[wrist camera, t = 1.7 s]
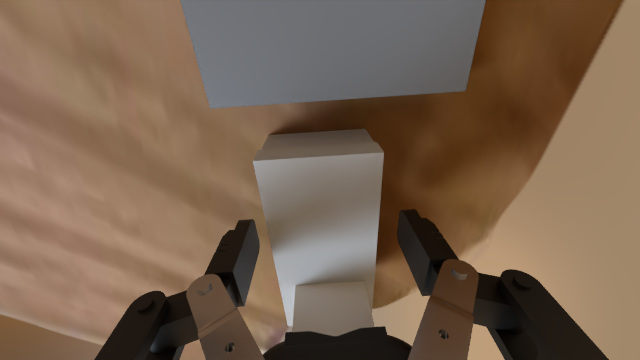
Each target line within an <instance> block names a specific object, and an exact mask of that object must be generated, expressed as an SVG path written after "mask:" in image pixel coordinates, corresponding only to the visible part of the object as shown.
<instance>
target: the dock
mask: <svg viewBox="0 0 640 360" xmlns="http://www.w3.org/2000/svg"><path fill="white" fill-rule="evenodd" d="M180 1H181V4H182V8H183V12H184V15H185V19H186V22H187V26H188V30H189V33H190V37H191V41H192V44H193V48H194V51H195V55H196V59H197V62H198V66H199V70H200V73H201V77H202V80H203V84H204V88H205V91H206V95H207V98H208V102H209V106H210V108H224V107H239V106H254V105H269V104H284V103H299V102H314V101H328V100H343V99H358V98H373V97H388V96H403V95H417V94H432V93H447V92H462V91H466V87H467V82H468V78H469V73H470V69H471V64H472V60H473V55H474V51H475V46H476V42H477V38H478V33H479V29H480V24H481V20H482V15H483V11H484V6H485V2H486V0H180Z"/></svg>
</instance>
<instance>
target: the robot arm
mask: <svg viewBox="0 0 640 360" xmlns="http://www.w3.org/2000/svg"><path fill="white" fill-rule="evenodd" d="M397 237H398V242H399V245H400V247H401V249H402V252H403V254H404V256H405V258H406V261H407V263H408V265H409V267H410V270H411V272H412V274H413V276H414V279H415V281H416V283H417V286H418V288H419V290H420V292H421V295H422V296H430V298H429V300H428V303H427V306H426V309H425V312H424V315H423V317H422V320H421V323H420V326H419V329H418V332H417V334H416V337H415V340H414V343H413V346H410V345H409V344H408V343H406V342H404V341H402V340H400V339H398V338H395V337H393V336H389V335H387V332H386V329H385V327H368V328H359V329H356V330H353V331H350V332H348V333H345V334H342V335H339V336H331V335H326V334H321V333H317V332H312V331H303V332H286V334H285V341H284V342H281V343H279V344H277V345H275V346H273V347H272V348H270V349H269V350H268V351H266V352H265V353H264V354H263V355H262V353H261V351H260V349H259V348H258V346H257V344H256V342H255V340H254V338H253V336H252V334H251V333H250V331H249V329H248V327H247V325H246V323H245V321H244V319H243V318H242V316H241V314H240V312H239V310H238V309H237V308H236V307H241V306H245V302H246V298H247V295H248V291H249V287H250V283H251V280H252V276H253V272H254V269H255V265H256V261H257V257H258V254H259V247H260V245H259V238H258V234H257V230H256V226H255V222H254V220H253V219H250V220H239V221H238V223H237V225H236V228H235V230H229V231H228V232H227V233H226V234H225V235H224V236H223V237H222V239H221V241H220V243H219V246H218V247H217V249H216V252H215V254H214V256H213V258H212V260H211V262H210V264H209V266H208V268H207V270H206V272H205V274H204V276H201V277H199V278H198V279H196V280H195V281H194V282H193V283H192V284H191V285H190V286H189V288H188V289H187V290H186V291H184V292H181V293H178V294H175V295H172V296H169V297H166V296H165V294H164V293H163V292H161V291H152V292H148V293H146V294H144V295H142V296H140V297H139V298H138V299H136V300H135V301H134V302H133V303H132V304H131V305H130V306H129V308H128V309H127V311H126V312H125V314H124V315H123V317H122V318H121V320H120V321H119V323H118V324H117V326H116V327H115V329H114V330H113V332H112V334H111V335H110V337H109V338H108V340H107V341H106V343H105V344H104V346H103V347H102V349H101V350H100V352H99V353H98V355H97V356H96V358H95V360H179V359H180V356H181V354H182V351H183V349H184V346H185V344H188V343H190V342H193V341H195V340H198V339H199V340H200V343H201V346H202V349H203V352H204V355H205V358H206V360H467V356H468V351H469V345H470V339H471V333H472V327H473V323H474V324H478V325H482V326H486V327H487V328H488V330H489V332H490V334H491V336H492V337H493V339H494V341H495V343H496V344H497V346H498V348H499V350H500V352H501V353H502V355H503V357H504V359H505V360H609V359H608V358H607V357H606V356H605V355H604V354H603V353H602V352H601V350H600V349H599V348H598V347H597V346H596V345H595V344H594V343H593V341H592V340H591V339H590V338H589V337H588V336H587V335H586V334H585V333H584V331H583V330H582V329H581V328H580V327H579V326H578V325H577V324H576V323H575V321H574V320H573V319H572V318H571V317H570V316H569V315H568V313H567V312H566V311H565V310H564V309H563V308H562V307H561V306H560V305H559V303H558V302H557V301H556V300H555V299H554V298H553V297H552V296H551V294H550V293H549V292H548V291H547V290H546V289H545V288H544V287H543V286H542V284H541V283H540V282H539V281H538V280H536V279H535V278H534V277H532V276H531V275H529V274H527V273H524V272H522V271H518V270H505V271H503V272H502V274H501V276H500V277H497V276H492V275H487V274H481V273H478V272H477V271H476V270H475V269H474V267H472V266H471V265H470V264H468V263H466V262H464V261H462V260H459V259H458V258H457V256H456V255H455V253H454V252H453V250H452V249H451V247H450V246H449V245H448V243H447V242H446V240H445V239H444V238H443V236H442V234H441V233H440V232H439V230H438V229H437V227H436V226H435V224H434V223H432V222H431V221H430V220H428V219H427V218H421V217H420V216H419V214H418V212H417V211H416V210H415V209H412V210H401V211H400V213H399V221H398V230H397Z"/></svg>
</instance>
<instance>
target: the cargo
mask: <svg viewBox="0 0 640 360" xmlns="http://www.w3.org/2000/svg"><path fill="white" fill-rule="evenodd" d="M368 327H374V322H373V318H372V314H371V309H370V305H369V300H368V296H367V291H366V287H365V282H364V281H358V282H342V283H327V284H312V285H297V286H295V299H294V314H293V329H292V332H303V331H312V332H317V333H321V334H326V335H331V336H339V335H342V334H345V333H348V332H350V331H353V330H356V329H359V328H368Z"/></svg>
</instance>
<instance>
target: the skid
mask: <svg viewBox="0 0 640 360" xmlns="http://www.w3.org/2000/svg"><path fill="white" fill-rule="evenodd" d="M383 161H384V151H383V150H382V149H381V147H380V146H379V144H378V143H377V142H376V143H374V141H373V140H372V138H371V136H370V135H369V133H368V132H367V130H366V129H353V130H338V131H323V132H307V133H292V134H277V135H268V137H267V139H266V141H265V143H264V145H263V148H262V150H258V152H257V154H256V156H255V158H254V160H253V164H254V168H255V173H256V178H257V182H258V187H259V192H260V196H261V201H262V206H263V211H264V215H265V220H266V225H267V229H268V234H269V239H270V243H271V248H272V253H273V258H274V262H275V267H276V272H277V276H278V281H279V286H280V290H281V295H282V300H283V305H284V309H285V314H286V319H287V323H288V326H293V314H294V299H295V286H297V285H312V284H327V283H342V282H358V281H364V282H365V287H366V291H367V296H368V300H369V305H370V309H371V314H372V303H373V291H374V278H375V265H376V252H377V239H378V226H379V213H380V200H381V187H382V174H383Z"/></svg>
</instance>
